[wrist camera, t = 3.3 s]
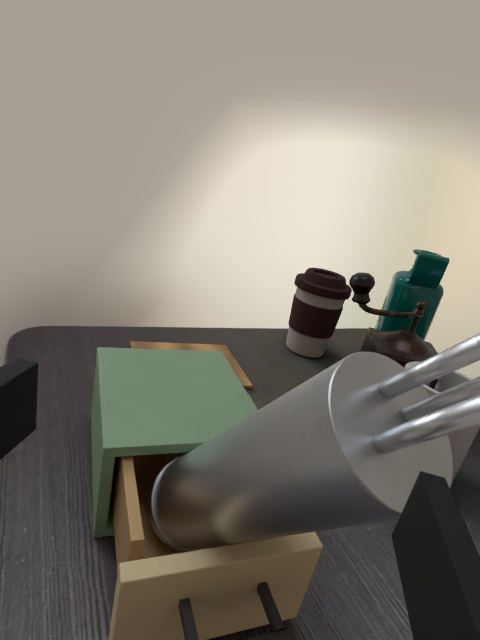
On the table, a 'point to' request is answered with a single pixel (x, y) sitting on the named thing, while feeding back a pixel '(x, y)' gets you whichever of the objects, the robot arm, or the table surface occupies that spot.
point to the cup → (461, 438)
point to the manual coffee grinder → (392, 343)
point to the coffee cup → (315, 311)
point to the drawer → (198, 573)
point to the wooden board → (198, 347)
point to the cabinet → (156, 410)
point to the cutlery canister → (319, 454)
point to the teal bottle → (415, 293)
